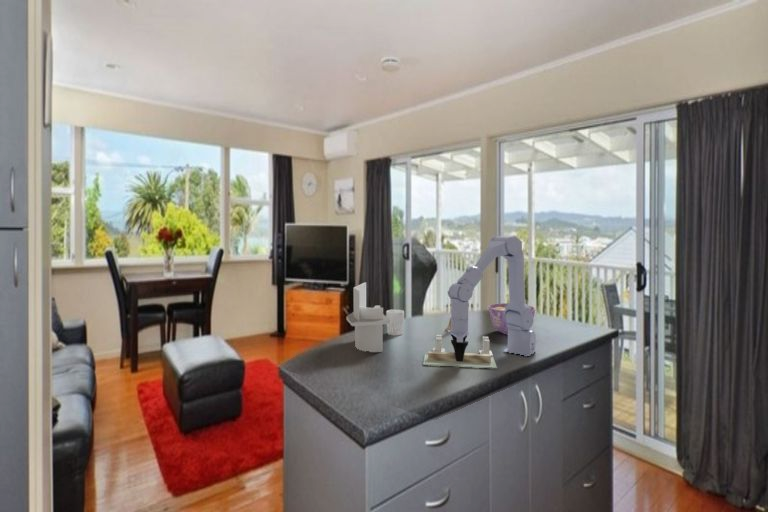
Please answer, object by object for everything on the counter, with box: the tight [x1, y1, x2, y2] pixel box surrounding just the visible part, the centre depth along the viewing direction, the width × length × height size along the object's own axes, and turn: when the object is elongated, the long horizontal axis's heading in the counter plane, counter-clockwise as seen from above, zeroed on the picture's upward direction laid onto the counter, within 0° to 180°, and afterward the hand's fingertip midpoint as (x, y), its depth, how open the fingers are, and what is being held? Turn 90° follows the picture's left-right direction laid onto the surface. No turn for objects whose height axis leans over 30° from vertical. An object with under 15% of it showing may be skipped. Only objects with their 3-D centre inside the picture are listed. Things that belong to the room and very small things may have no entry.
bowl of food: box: [487, 302, 537, 336], centre depth 183 cm, size 20×20×12 cm
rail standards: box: [432, 334, 494, 358], centre depth 153 cm, size 21×6×6 cm, turn 81°
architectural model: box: [346, 281, 390, 353], centre depth 163 cm, size 28×21×23 cm
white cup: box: [385, 309, 405, 337], centre depth 182 cm, size 8×8×10 cm
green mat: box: [422, 353, 498, 369], centre depth 143 cm, size 24×11×1 cm, turn 81°
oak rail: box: [427, 350, 491, 363], centre depth 143 cm, size 21×2×2 cm, turn 81°
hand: (459, 357), depth 143 cm, fingers open, 7 cm apart
